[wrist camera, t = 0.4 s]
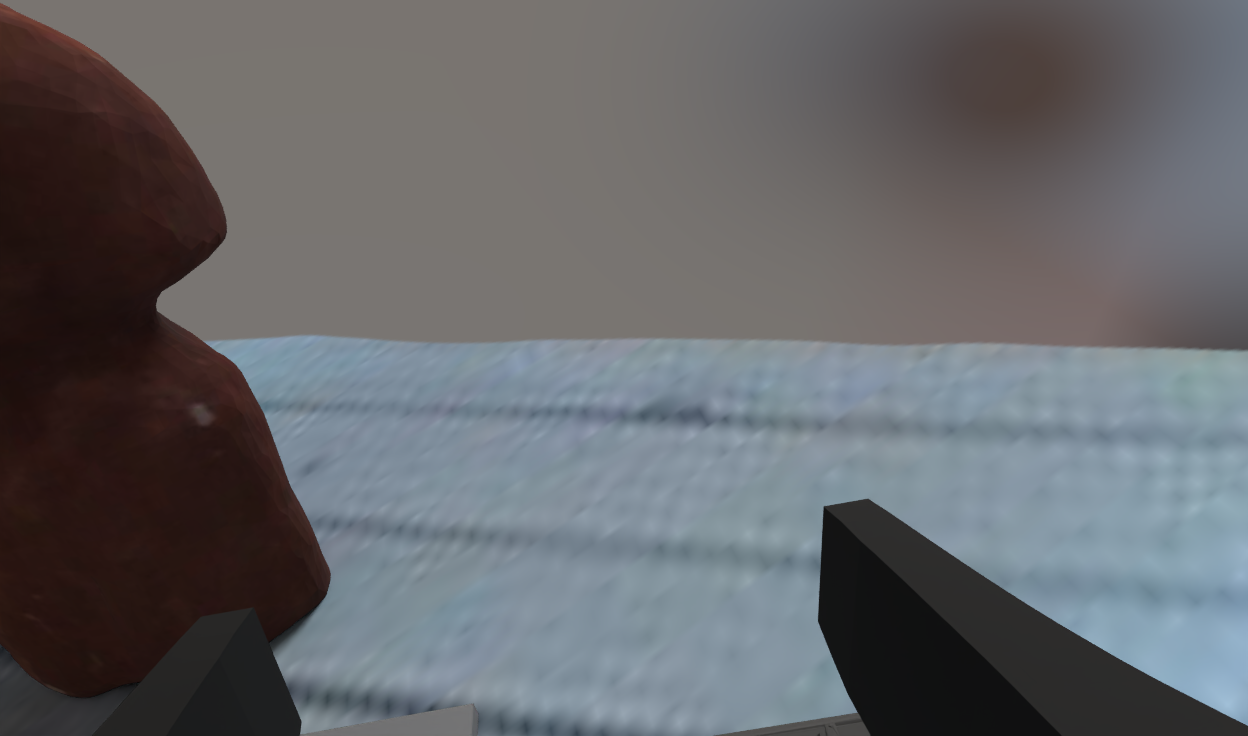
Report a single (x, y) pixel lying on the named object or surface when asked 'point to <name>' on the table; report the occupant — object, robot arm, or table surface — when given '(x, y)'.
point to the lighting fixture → (813, 728)
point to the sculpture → (120, 390)
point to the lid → (416, 725)
